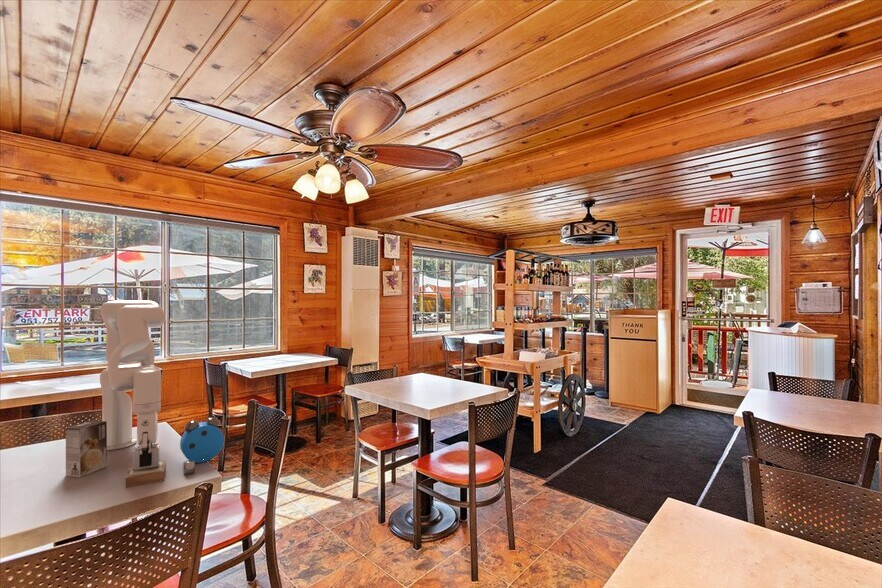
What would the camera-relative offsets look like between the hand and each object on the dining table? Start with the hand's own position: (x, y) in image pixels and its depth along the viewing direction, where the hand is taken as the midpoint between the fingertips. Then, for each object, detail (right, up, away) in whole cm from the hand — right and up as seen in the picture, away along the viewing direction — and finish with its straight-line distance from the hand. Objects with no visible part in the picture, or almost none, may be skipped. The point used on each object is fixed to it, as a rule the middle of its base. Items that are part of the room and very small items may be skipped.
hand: (146, 462), depth 137 cm
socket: (+12, -5, +3) cm, 13 cm away
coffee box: (-24, -5, +5) cm, 25 cm away
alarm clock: (+10, -6, +15) cm, 19 cm away
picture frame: (0, -5, 0) cm, 5 cm away
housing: (0, -1, 0) cm, 1 cm away
